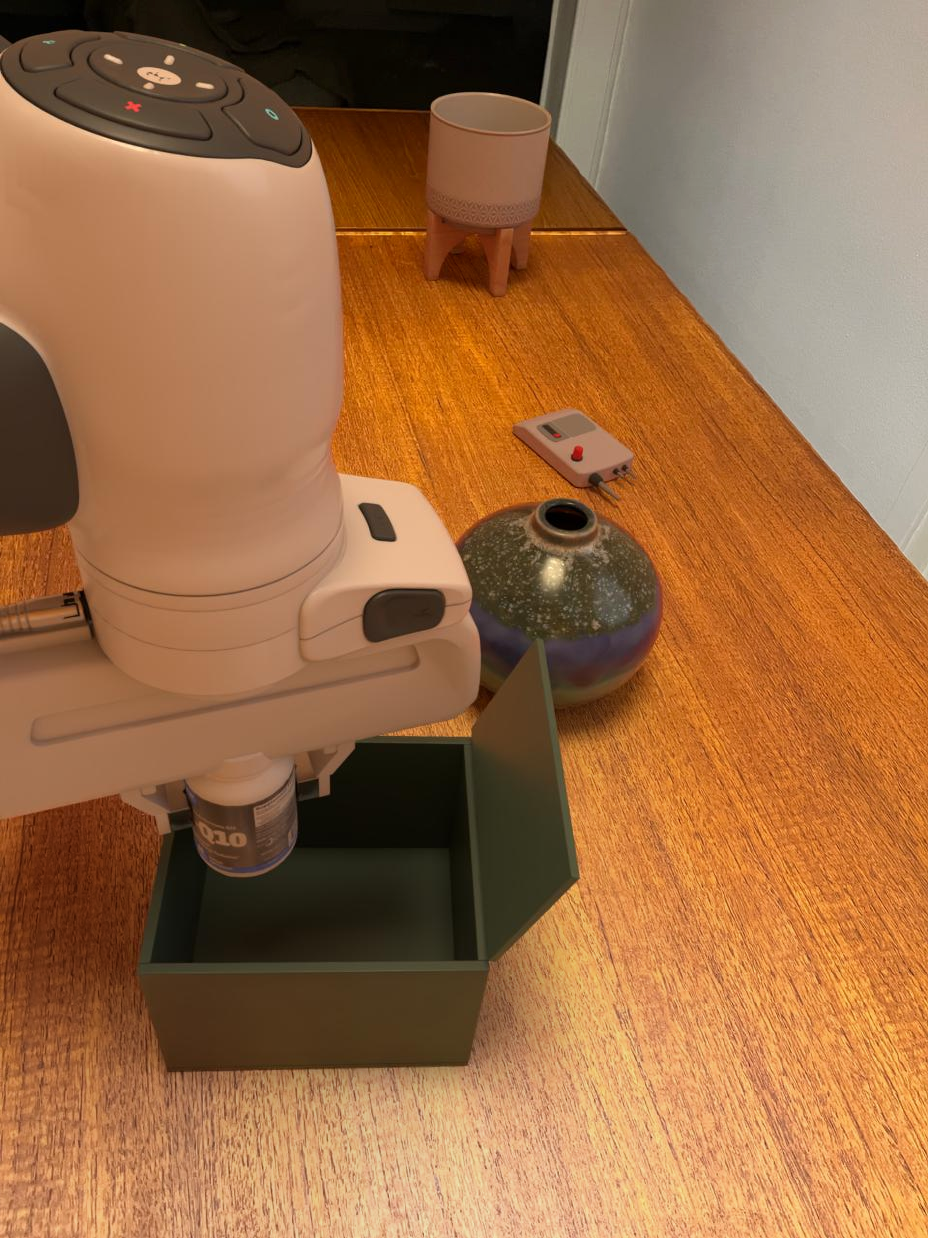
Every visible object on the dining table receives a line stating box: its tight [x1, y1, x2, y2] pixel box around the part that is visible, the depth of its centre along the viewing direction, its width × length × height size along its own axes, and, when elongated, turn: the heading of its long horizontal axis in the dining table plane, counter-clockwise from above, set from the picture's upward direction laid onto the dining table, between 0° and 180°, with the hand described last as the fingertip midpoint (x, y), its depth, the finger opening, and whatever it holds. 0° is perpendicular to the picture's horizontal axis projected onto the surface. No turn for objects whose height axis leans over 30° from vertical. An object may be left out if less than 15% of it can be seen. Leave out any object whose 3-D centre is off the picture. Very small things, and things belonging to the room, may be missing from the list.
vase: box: [454, 497, 664, 710], centre depth 66 cm, size 15×15×13 cm
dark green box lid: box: [470, 638, 581, 963], centre depth 44 cm, size 7×13×1 cm
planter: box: [423, 91, 553, 297], centre depth 110 cm, size 13×13×18 cm
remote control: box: [512, 408, 638, 502], centre depth 89 cm, size 7×16×3 cm, turn 33°
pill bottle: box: [184, 752, 298, 877], centre depth 43 cm, size 5×5×8 cm
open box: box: [136, 735, 491, 1072], centre depth 50 cm, size 15×13×10 cm
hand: (244, 802), depth 44 cm, fingers closed on pill bottle, 5 cm apart
